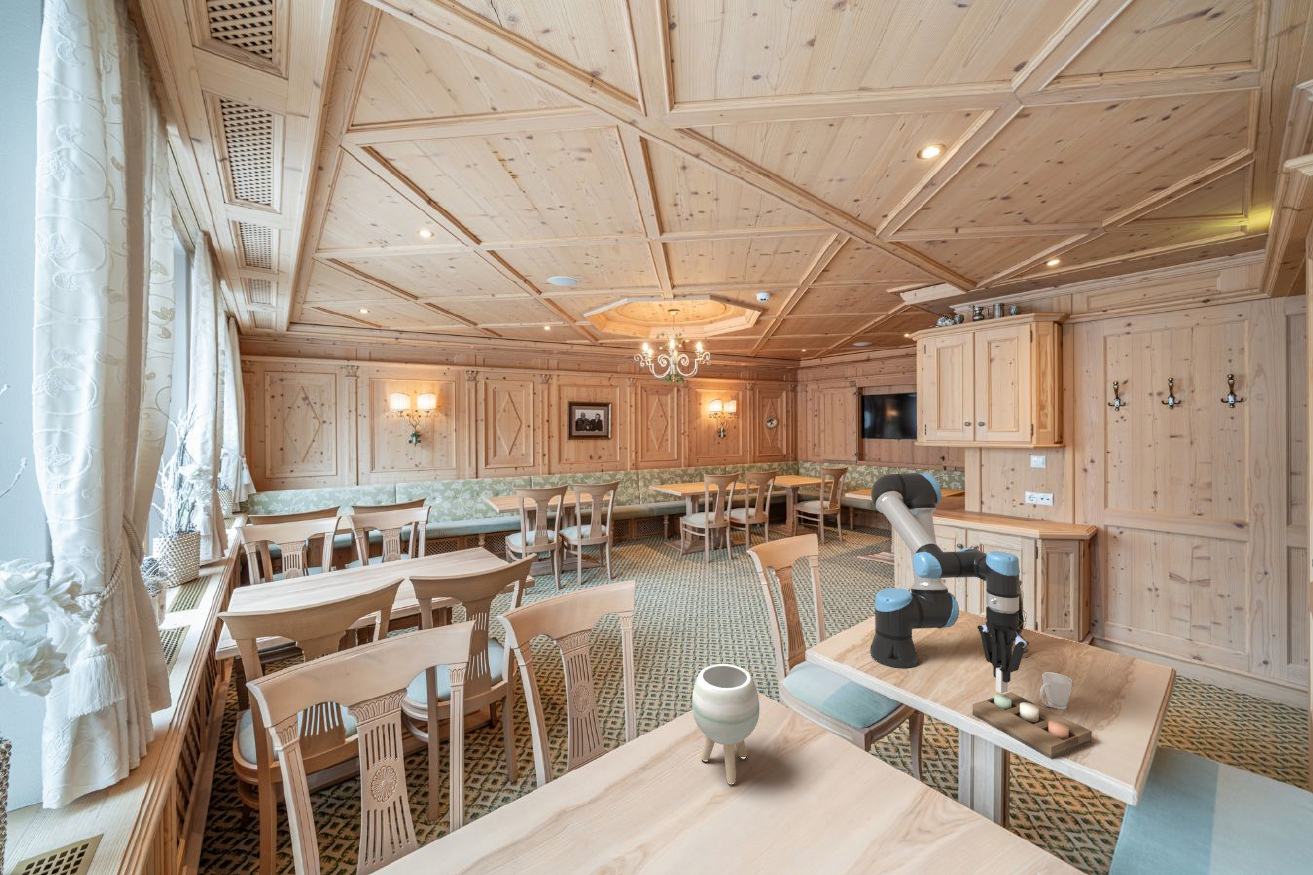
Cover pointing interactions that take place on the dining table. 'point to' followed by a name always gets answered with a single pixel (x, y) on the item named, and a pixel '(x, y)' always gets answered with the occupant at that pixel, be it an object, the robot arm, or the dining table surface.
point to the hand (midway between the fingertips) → (1001, 690)
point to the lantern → (1021, 623)
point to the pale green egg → (1002, 701)
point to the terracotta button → (1058, 729)
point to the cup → (1056, 689)
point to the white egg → (1029, 712)
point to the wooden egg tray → (1032, 727)
